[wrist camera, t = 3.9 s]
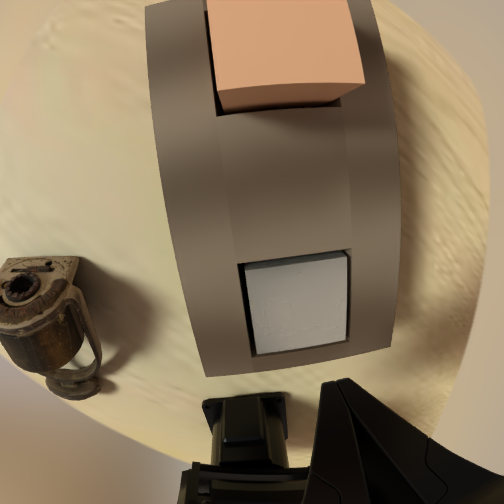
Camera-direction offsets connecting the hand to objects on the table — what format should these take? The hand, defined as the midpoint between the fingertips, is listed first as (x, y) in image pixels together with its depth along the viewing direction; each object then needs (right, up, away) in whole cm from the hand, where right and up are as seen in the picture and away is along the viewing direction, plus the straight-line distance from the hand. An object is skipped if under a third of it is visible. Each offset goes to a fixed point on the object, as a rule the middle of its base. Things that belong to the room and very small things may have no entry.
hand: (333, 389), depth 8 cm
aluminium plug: (0, +3, +10) cm, 10 cm away
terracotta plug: (-2, +12, +3) cm, 13 cm away
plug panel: (-1, +8, +8) cm, 12 cm away
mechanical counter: (-17, -1, +11) cm, 20 cm away
